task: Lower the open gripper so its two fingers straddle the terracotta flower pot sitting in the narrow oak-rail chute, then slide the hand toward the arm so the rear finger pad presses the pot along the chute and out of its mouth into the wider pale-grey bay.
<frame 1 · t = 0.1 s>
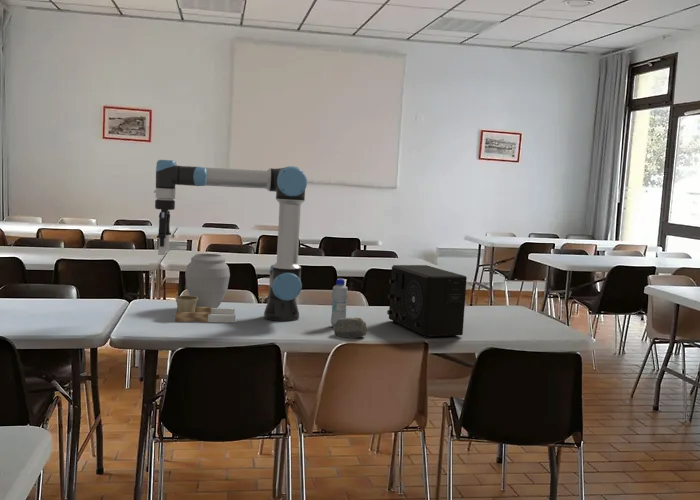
hand: (163, 253, 278), 28 cm above the table, fingers open, 13 cm apart
vintage radio: (420, 329, 295), on the table
stone: (350, 337, 274), on the table
bay: (221, 318, 294), on the table
flower pot: (186, 318, 291), on the table
chute: (193, 318, 292), on the table
bottle: (338, 327, 290), on the table
vase: (206, 309, 312), on the table
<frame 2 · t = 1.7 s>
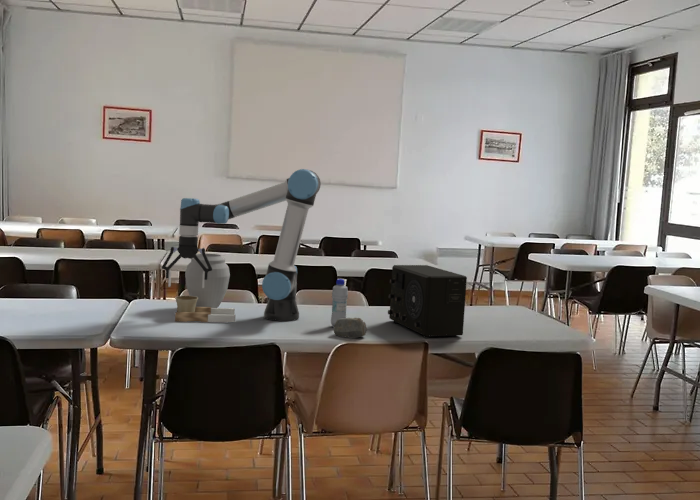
hand: (186, 287, 290), 13 cm above the table, fingers open, 13 cm apart
nothing on the table moved.
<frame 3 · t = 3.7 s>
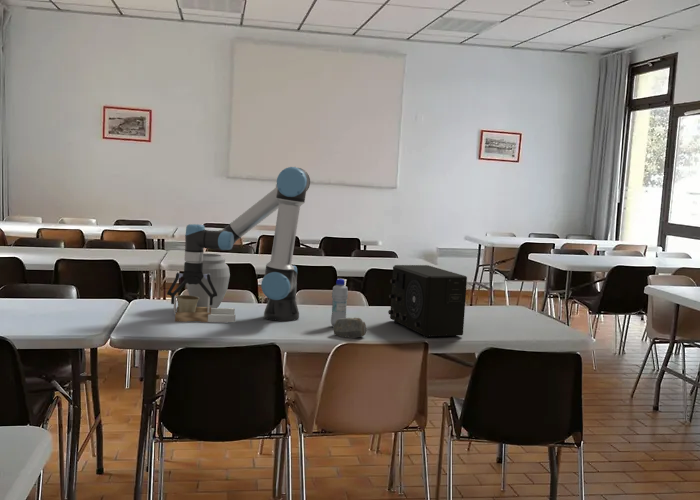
hand: (191, 312, 291), 2 cm above the table, fingers open, 13 cm apart
flower pot: (185, 318, 291), on the table, touching gripper
everything else where it was.
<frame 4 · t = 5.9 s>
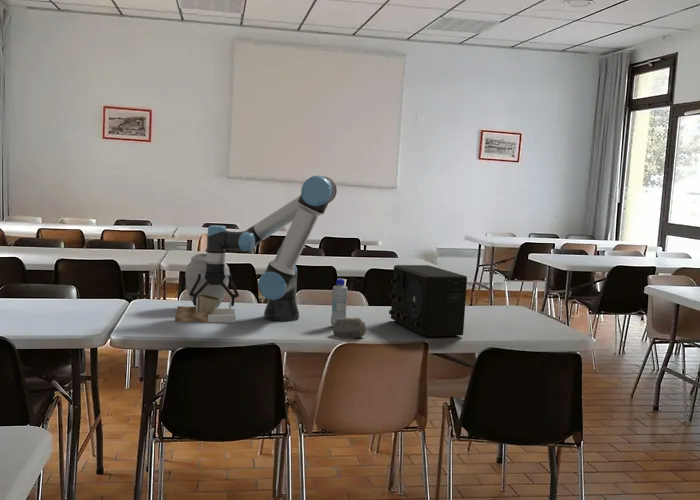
hand: (213, 313, 293), 2 cm above the table, fingers open, 13 cm apart
flower pot: (203, 317, 292), on the table, touching gripper
everything else where it was.
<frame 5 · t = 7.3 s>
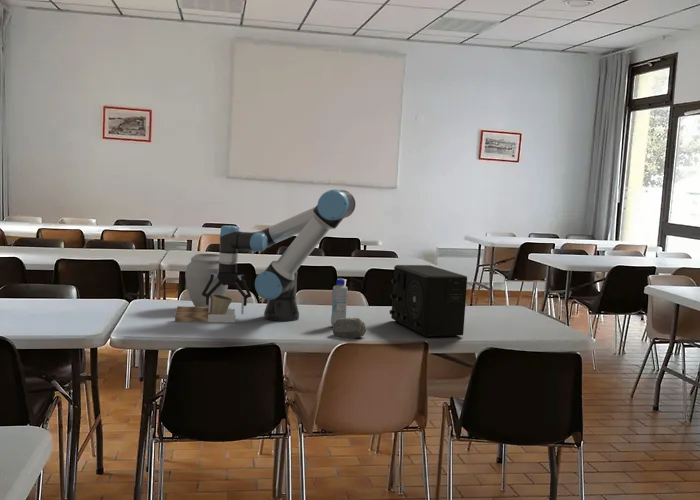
hand: (225, 313, 294), 2 cm above the table, fingers open, 13 cm apart
flower pot: (216, 317, 294), point 1 cm above the table, touching gripper
everything else where it was.
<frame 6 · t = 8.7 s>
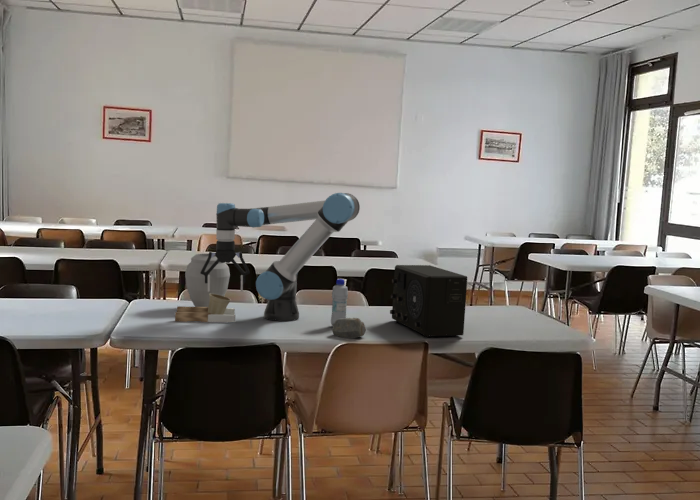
hand: (225, 291, 293), 12 cm above the table, fingers open, 13 cm apart
flower pot: (214, 316, 293), point 1 cm above the table
everything else where it was.
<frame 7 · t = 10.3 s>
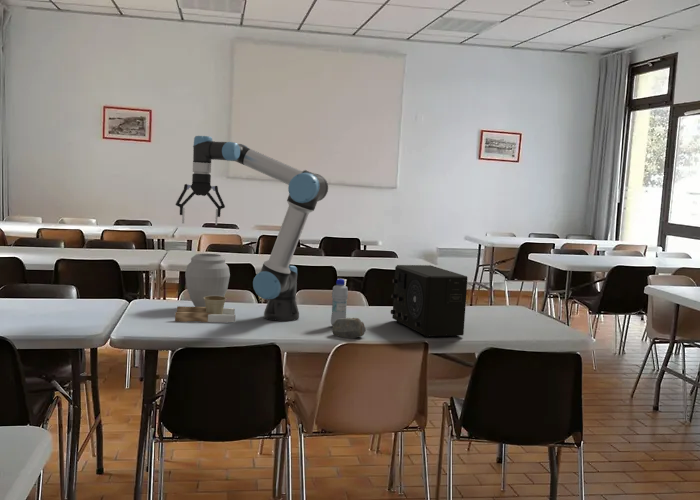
hand: (199, 224, 295), 39 cm above the table, fingers open, 13 cm apart
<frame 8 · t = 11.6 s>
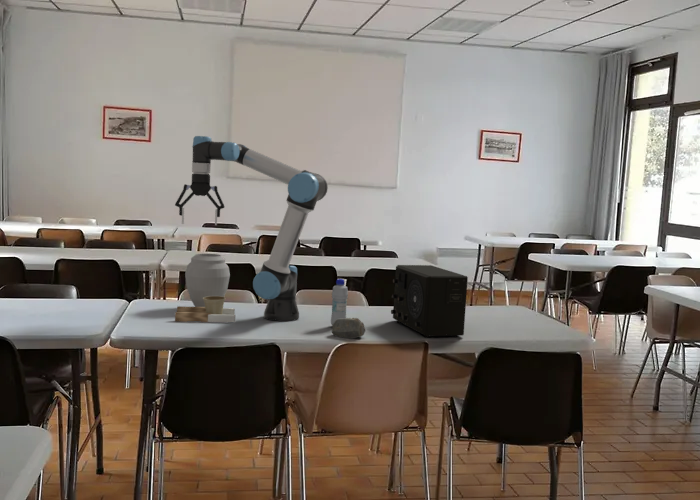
hand: (199, 224, 295), 39 cm above the table, fingers open, 13 cm apart
at the end: flower pot inside the target area (3.0 cm from its centre), on the table; flower pot tilted 1°; flower pot moved 11.5 cm from its start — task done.
